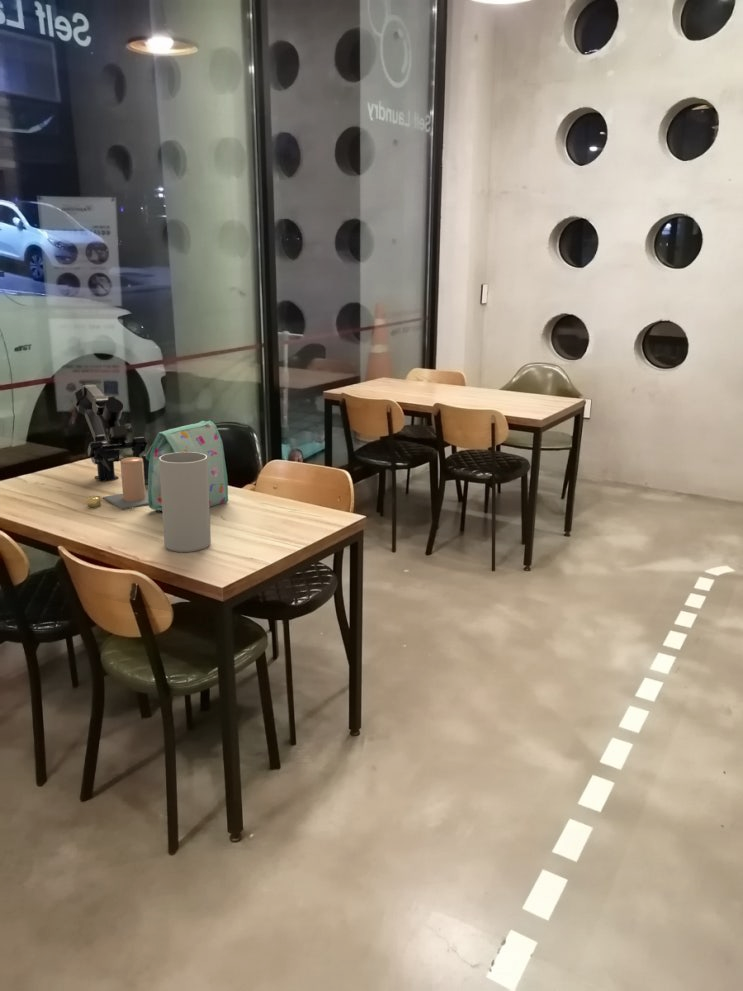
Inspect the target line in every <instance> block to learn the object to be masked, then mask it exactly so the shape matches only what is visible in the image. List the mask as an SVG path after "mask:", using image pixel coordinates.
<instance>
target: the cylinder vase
mask: <svg viewBox="0 0 743 991" xmlns="http://www.w3.org/2000/svg"><path fill="white" fill-rule="evenodd" d="M159 464H160V481H161V497H162V526H163V542H164V543H163V544H164V547H165V548H166V549H167V550H168V551H171V552H172V551H173V552H178V553H190V552H191V553H192V552H198V551H201V550H204V549H206V548H208V547H209V545H210V544H211V542H212V538H211V515H210V507H209V487H208V464H207V455H205V454H202V453H197V452H176V453H169V454H165V455H162V456H161V457H159Z"/></svg>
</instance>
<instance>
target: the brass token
mask: <svg viewBox="0 0 743 991" xmlns="http://www.w3.org/2000/svg"><path fill="white" fill-rule="evenodd" d="M86 500H87V501H86V503H87V508H88V507H89V508H88V509H98V508H97V507H99V508H101V507H102V502H101V496H100V495H91V496H87V497H86ZM100 506H101V507H100Z"/></svg>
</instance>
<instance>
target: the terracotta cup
mask: <svg viewBox="0 0 743 991" xmlns="http://www.w3.org/2000/svg"><path fill="white" fill-rule="evenodd" d="M120 471H121V472H120V473H121V474H120V475H121V484H122V485H121V486H122V494H123V499H124V500H126V501H140V500H143V499H145V498H146V495H145V490H146V484H145V480H144V465H143V459H142V457H140V456H139V457H133V456H132V457H125V458H121V459H120Z"/></svg>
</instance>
